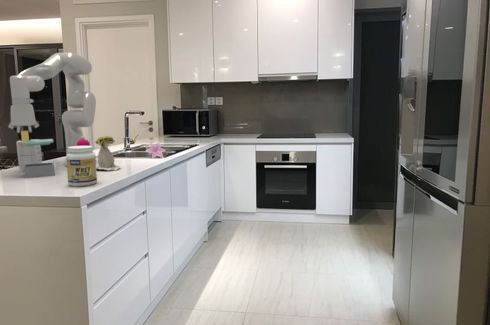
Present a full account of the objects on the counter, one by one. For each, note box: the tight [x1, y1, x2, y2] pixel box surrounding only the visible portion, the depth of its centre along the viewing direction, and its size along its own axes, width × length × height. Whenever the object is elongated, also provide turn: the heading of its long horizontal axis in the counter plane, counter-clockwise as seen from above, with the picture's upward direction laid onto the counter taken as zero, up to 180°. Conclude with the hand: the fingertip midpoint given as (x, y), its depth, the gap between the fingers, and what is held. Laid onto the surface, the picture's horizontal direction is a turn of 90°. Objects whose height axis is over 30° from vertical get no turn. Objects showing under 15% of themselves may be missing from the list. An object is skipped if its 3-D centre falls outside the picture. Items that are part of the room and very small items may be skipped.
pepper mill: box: [77, 135, 91, 146], centre depth 197 cm, size 7×7×20 cm
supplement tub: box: [65, 145, 98, 187], centre depth 179 cm, size 12×12×17 cm
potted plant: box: [94, 135, 121, 172], centre depth 216 cm, size 12×13×18 cm
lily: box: [145, 141, 166, 159], centre depth 260 cm, size 12×12×10 cm
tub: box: [23, 162, 56, 179], centre depth 198 cm, size 13×9×6 cm
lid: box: [20, 130, 54, 146], centre depth 195 cm, size 13×9×7 cm
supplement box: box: [15, 138, 43, 173], centre depth 211 cm, size 10×9×17 cm
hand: (25, 140), depth 193 cm, fingers closed on lid, 3 cm apart
